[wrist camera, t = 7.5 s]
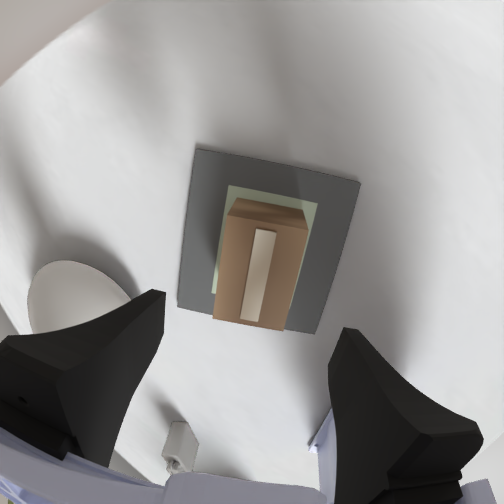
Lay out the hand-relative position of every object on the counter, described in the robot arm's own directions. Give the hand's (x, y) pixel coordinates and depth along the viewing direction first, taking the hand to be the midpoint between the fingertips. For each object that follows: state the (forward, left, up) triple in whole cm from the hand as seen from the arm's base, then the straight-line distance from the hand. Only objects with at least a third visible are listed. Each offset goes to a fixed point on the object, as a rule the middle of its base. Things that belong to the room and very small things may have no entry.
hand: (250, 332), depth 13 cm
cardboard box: (0, 0, -9) cm, 9 cm away
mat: (0, 0, -9) cm, 9 cm away
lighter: (-23, +3, -9) cm, 25 cm away
